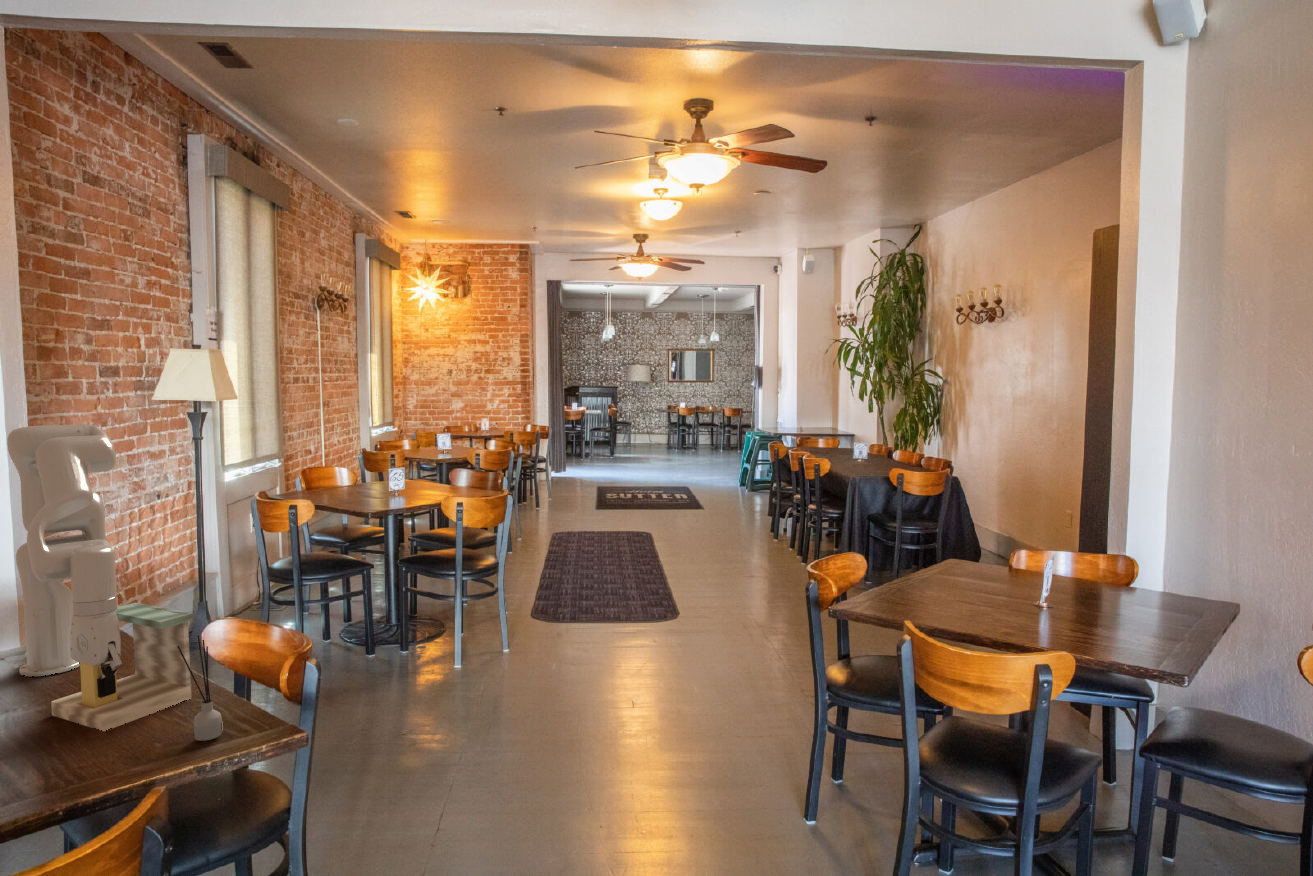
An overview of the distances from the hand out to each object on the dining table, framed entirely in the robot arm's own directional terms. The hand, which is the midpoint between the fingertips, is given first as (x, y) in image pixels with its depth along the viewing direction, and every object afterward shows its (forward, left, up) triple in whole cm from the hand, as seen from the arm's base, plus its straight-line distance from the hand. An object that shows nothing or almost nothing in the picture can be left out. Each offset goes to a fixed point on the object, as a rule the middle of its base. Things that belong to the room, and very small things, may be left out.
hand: (99, 692), depth 165 cm
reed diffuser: (+30, +1, -5) cm, 31 cm away
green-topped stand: (0, +5, -5) cm, 7 cm away
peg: (0, 0, -3) cm, 3 cm away
